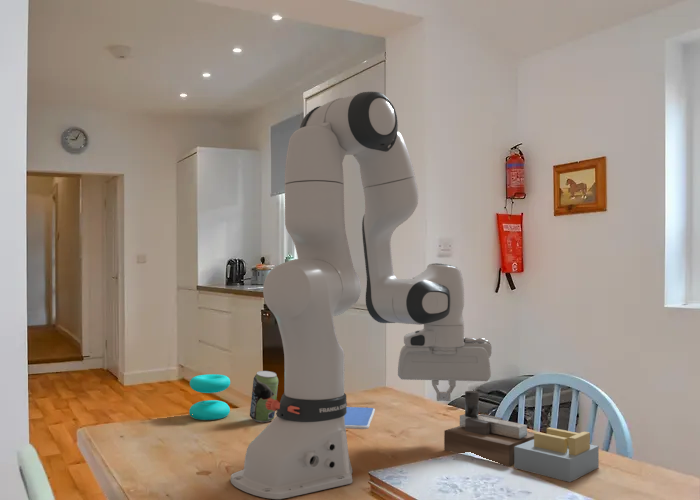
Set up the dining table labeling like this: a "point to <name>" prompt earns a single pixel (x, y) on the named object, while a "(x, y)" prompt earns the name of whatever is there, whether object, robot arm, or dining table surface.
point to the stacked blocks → (558, 454)
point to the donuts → (209, 407)
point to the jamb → (483, 441)
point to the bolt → (491, 419)
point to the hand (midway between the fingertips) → (443, 400)
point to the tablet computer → (358, 417)
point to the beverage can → (263, 395)
